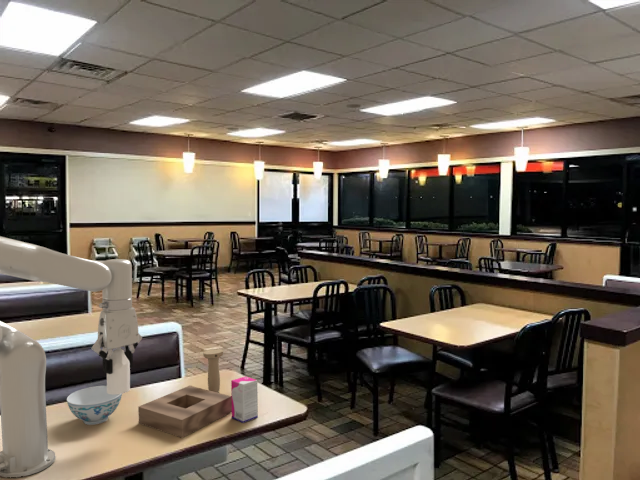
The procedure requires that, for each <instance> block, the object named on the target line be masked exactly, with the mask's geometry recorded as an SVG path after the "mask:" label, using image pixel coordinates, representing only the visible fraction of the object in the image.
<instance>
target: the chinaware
mask: <svg viewBox="0 0 640 480" xmlns="http://www.w3.org/2000/svg"><path fill="white" fill-rule="evenodd" d="M122 396H123V394H117V395H112V394H108V393H107V385H98V386H95V385H94V386H90V387H86V388H82V389H78V390H76V391H74V392H71V393H70V394H69V395H68V396H67V398H66V403H67V407H68V409H69V410H70V412H71V413H72V414H73V416H74V417H76V418H77V419H79V420H80V421H81V420H82V421H83V424H85V425H87V426H94V425H99V424H102V423H105V422H106V421H108V419H109V416H111V415H112V414H114V412H115V411H116V410H117V408H118V407H119V405H120V402H121V400H122Z"/></svg>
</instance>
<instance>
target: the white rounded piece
mask: <svg viewBox="0 0 640 480" xmlns="http://www.w3.org/2000/svg"><path fill="white" fill-rule="evenodd" d="M124 352H125V349H123V347H120V348H116V349H113V351H112V354H111V358H110V359H112V360H113V373H112V374H108V373H106V386H107V393H108V394H112V395H117V394H122V395H123V394H126V393H128V392H130V389H131V370H130V369H131V368H130V362H129V360H128V358H127V357H126V355H125V353H124Z"/></svg>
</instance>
